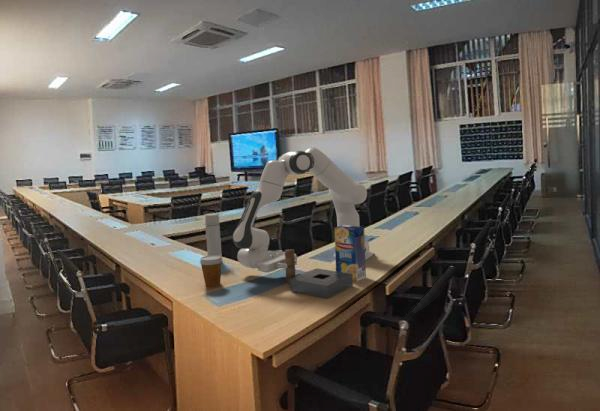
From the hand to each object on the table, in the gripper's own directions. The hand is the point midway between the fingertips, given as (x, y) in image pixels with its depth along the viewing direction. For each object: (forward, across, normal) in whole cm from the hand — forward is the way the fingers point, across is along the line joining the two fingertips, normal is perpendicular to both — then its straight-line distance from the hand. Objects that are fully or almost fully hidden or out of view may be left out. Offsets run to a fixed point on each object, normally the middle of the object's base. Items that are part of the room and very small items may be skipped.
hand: (291, 264), depth 188 cm
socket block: (+15, 0, +8) cm, 17 cm away
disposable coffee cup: (-29, -19, +8) cm, 36 cm away
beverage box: (+17, +19, +8) cm, 27 cm away
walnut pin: (-1, 0, +8) cm, 8 cm away
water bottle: (-60, +9, +8) cm, 61 cm away
